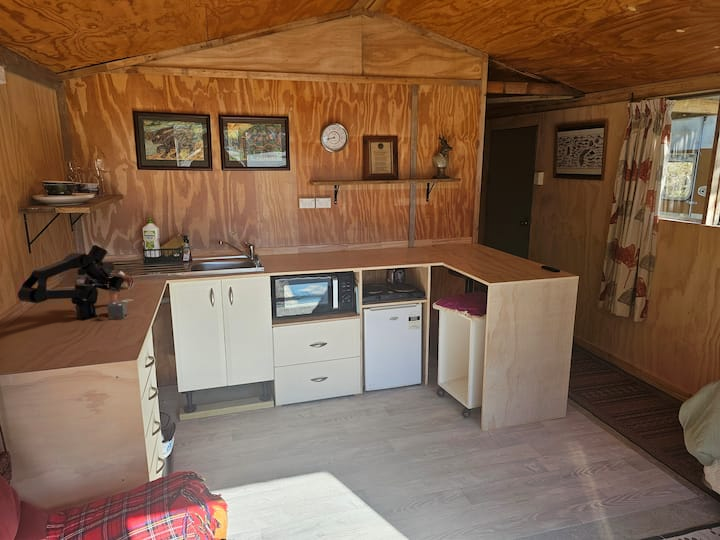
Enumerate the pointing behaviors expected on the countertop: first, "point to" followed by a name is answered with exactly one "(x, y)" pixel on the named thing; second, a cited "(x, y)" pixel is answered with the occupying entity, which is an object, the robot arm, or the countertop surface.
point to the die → (117, 310)
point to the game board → (126, 300)
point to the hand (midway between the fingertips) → (115, 290)
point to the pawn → (112, 295)
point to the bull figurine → (126, 279)
